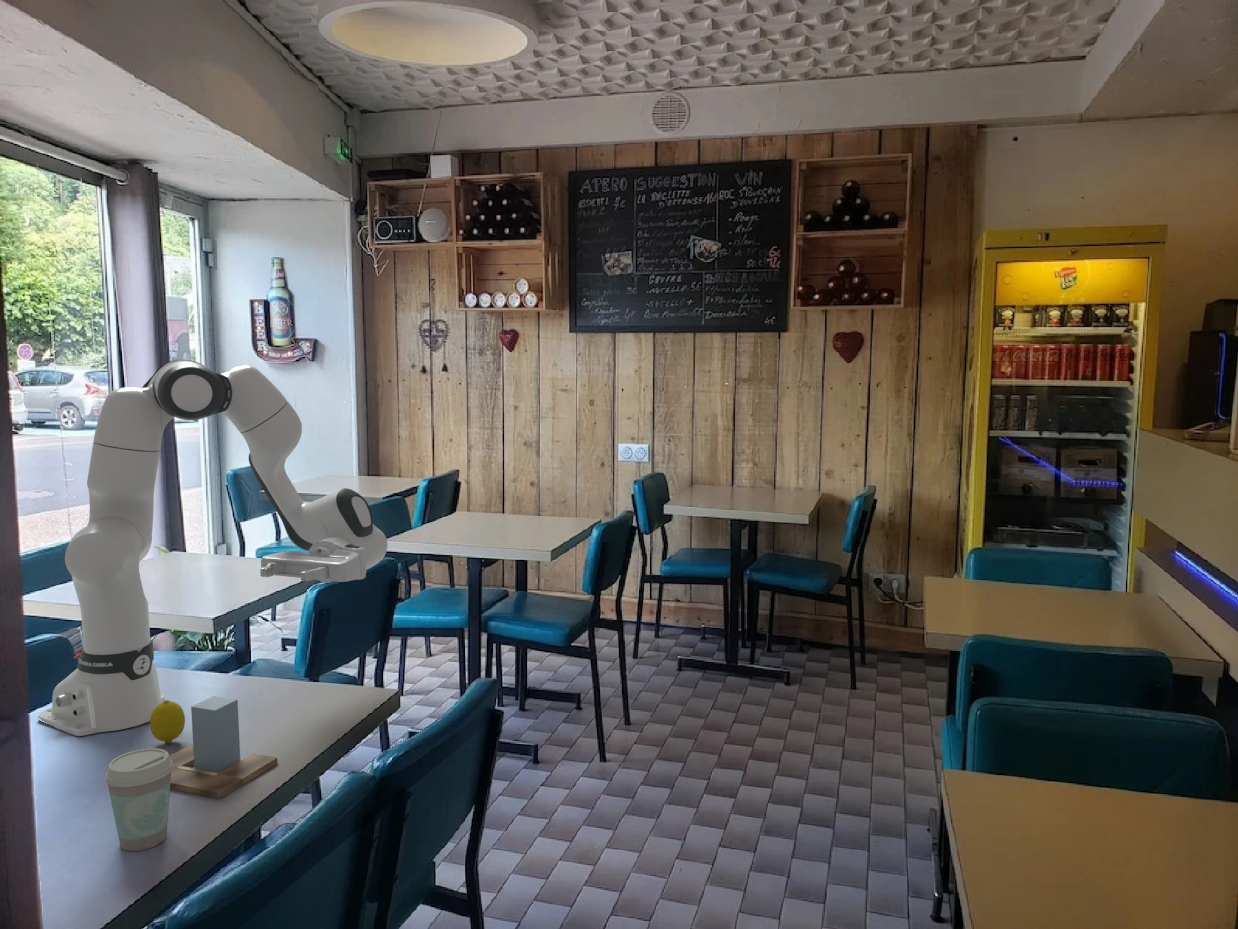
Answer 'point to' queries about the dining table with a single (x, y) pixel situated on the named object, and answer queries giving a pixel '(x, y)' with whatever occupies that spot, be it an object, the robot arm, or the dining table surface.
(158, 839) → the coffee cup
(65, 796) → the dining table surface
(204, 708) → the blue-grey rectangular block
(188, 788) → the wooden u-shaped frame
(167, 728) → the lemon
